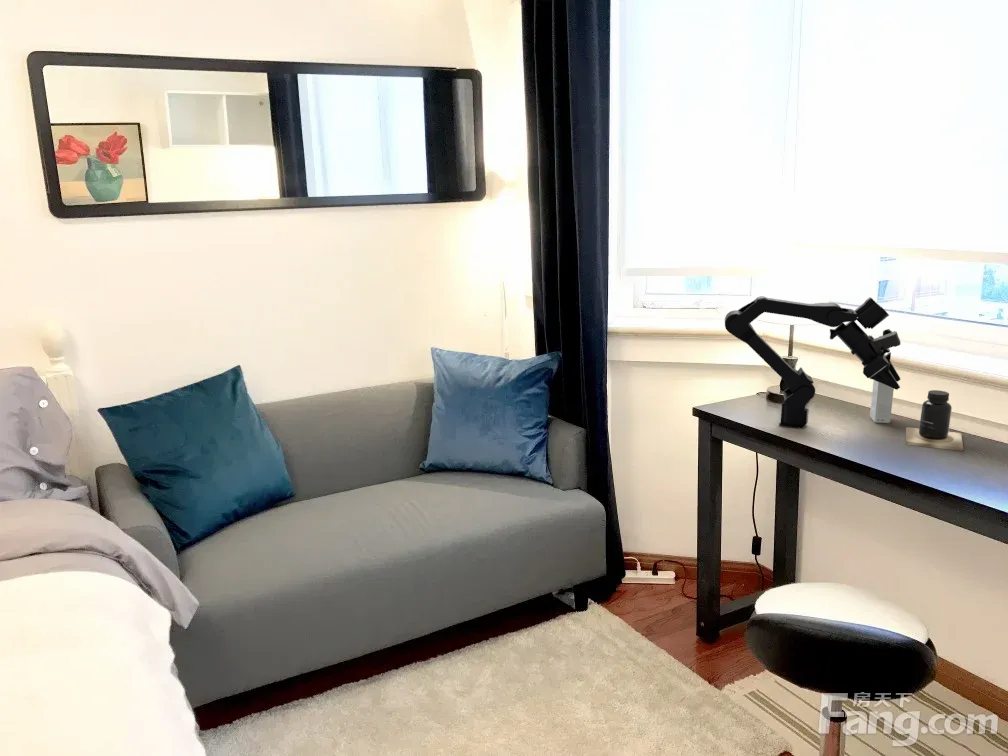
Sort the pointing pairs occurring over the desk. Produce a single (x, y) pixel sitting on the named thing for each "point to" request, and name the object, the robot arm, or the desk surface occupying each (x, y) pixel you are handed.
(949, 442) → the birch coaster
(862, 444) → the desk surface
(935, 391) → the supplement bottle
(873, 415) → the skincare box
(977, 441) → the desk surface
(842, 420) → the desk surface
